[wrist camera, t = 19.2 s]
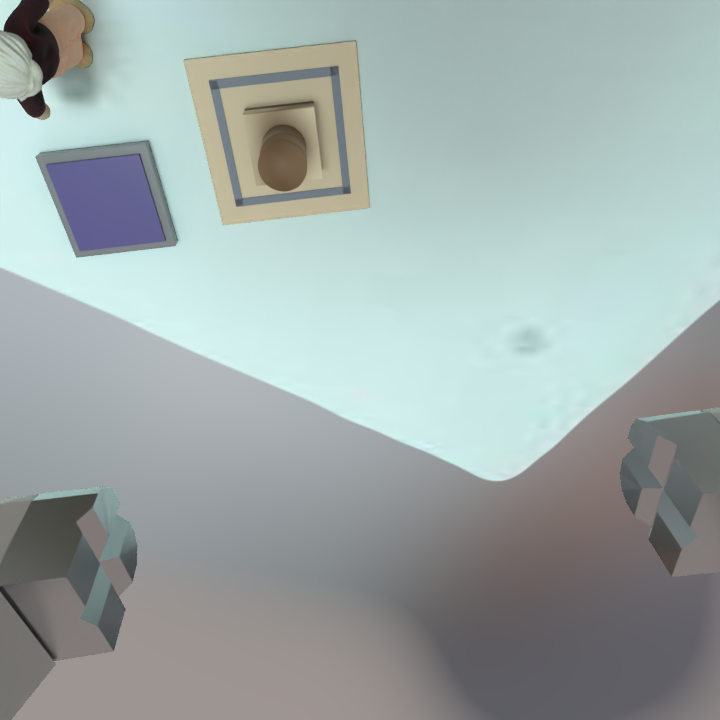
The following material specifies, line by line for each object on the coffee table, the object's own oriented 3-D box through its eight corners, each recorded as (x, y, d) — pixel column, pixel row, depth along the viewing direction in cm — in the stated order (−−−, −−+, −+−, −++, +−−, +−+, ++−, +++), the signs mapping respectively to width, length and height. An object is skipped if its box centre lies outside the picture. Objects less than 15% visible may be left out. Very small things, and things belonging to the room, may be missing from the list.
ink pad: (148, 140, 43) (144, 145, 41) (177, 241, 47) (174, 247, 46) (40, 153, 42) (33, 157, 41) (80, 252, 47) (75, 259, 46)
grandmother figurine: (30, -33, 36) (-79, -31, 26) (94, -22, 37) (13, -16, 26) (49, 98, 40) (-38, 144, 30) (106, 105, 41) (40, 154, 31)
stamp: (313, 100, 42) (315, 122, 36) (321, 169, 45) (325, 200, 39) (245, 108, 42) (236, 131, 36) (258, 177, 44) (251, 208, 39)
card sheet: (355, 40, 40) (356, 41, 40) (369, 206, 47) (369, 208, 47) (184, 59, 40) (183, 60, 39) (223, 223, 47) (222, 225, 46)
